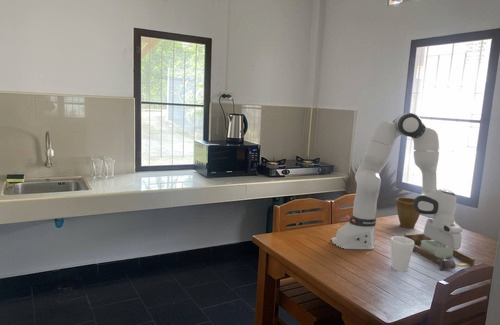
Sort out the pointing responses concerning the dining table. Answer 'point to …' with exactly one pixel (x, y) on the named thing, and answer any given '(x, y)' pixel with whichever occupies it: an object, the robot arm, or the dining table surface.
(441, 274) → the dining table surface
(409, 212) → the plant pot
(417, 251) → the bay
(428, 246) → the crate
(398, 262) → the foam cup
